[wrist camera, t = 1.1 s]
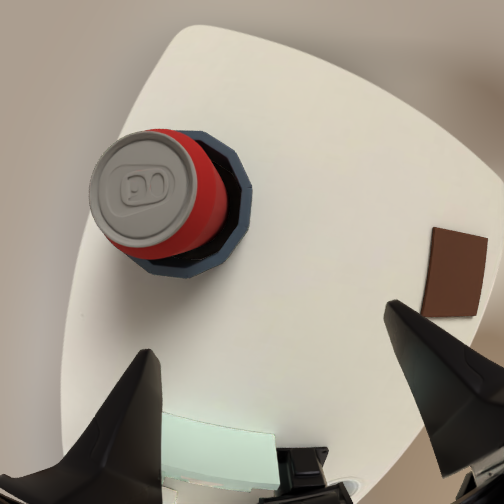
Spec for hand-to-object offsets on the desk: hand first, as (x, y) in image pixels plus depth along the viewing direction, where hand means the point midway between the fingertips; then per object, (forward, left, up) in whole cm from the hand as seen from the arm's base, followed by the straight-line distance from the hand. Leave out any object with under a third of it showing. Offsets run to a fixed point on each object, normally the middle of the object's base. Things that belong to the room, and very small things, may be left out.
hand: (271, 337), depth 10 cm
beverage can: (+5, +6, -14) cm, 16 cm away
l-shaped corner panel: (-22, +3, -14) cm, 27 cm away
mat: (+2, -21, -14) cm, 26 cm away
